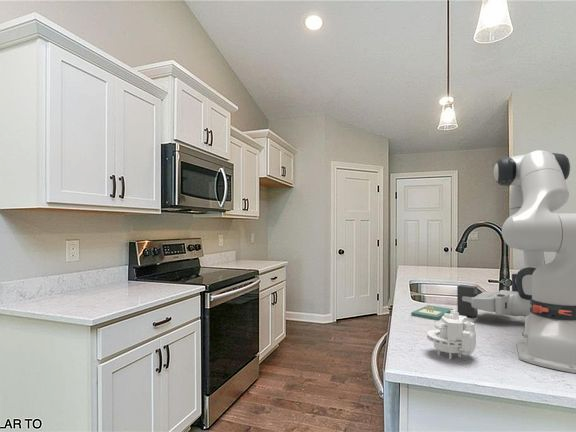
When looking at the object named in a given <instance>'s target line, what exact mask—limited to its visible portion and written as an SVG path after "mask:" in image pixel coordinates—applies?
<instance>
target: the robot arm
mask: <svg viewBox="0 0 576 432" xmlns="http://www.w3.org/2000/svg"><path fill="white" fill-rule="evenodd" d="M570 172H571V163H570V159H569V157H568V156H567V155H566V154H564V153H558V152H557V153H556V152H552V153H551V152H550V151H547V150H542V149H541V150H540V149H537V150H533V151H531V152H528V153H527V154H519V155H513V156H504V157H501V158H499V159H498V160H497V161H496V162H495V165H494V167H493V177H494V179H495V181H496V183H497V184H498V185H499V186H502V187H510V191H509V203H508V205H509V206H508V208H509V217H507V218H506V219H505V221H504V223H503V224H502V228H501V237H502V238H503V241H504V243H505V244H506V245H507V246H508V247H509V248H511V249H514V250H515V249H516V250H521V251H523V258H524V259H523V260H524V261H523V262H524V267H523V268H521V269H520V270H518V272H517V273H516V274H517V275H516V278H515V282H516V286H517V290H518V292H515V291H512V290H506V289H505V290H504V289H501V290H499V292H493V291H483V292H481V293H478V295H477V296H475V297H468V296H463V297H462V301H466V302H469V303H471V306H472V307H473V308H475V309H478V311H485V312H490V313H495V314H494V315H496V316H497V315H498V316H504V315H505V316H512V317H524V332H522V334H521V335H522V337H523V338H525V339H524V340H522V339H521V340H520V339H519V340H516V343H515V344H516V349H517V355H518V356H517V357H518V359H520V360H521V361H524V362H526V363H529V364H531V365H532V364H533V365H536V366H540V367H544V368H548V369H552V370H556V371H557V370H558V371H562V372H567V373H574V374H576V212H555V211H557V210H559V209H561V208H562V207H563V206H564V205H566V203H567V202H568V200H569V197H570V192H569V189H568V186H567V182H566V180H567V179H568V178H569V175H570ZM544 252H548V253H552V252H553V253H555V256H554V258H553V260H552V261H550V262H549V263H548V262H547V263H545V262H546V261H545V253H544Z"/></svg>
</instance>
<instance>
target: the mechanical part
mask: <svg viewBox="0 0 576 432" xmlns="http://www.w3.org/2000/svg"><path fill="white" fill-rule="evenodd" d="M440 320H441V321H442V322H440V321H439V322H435V324H434V328H435V329H432V330H428V331H427V332H426V334H427V336H426V339H427V340H428V341H430V342H431V343H433V346H434V349H436V350H437V356H440V355H441V353H442V352H444V353H449V354H448V359H449V360H452V354H458V358H460V359H462V354H466V355H468V356H469V355H472V354H473V353H474V351H475V349H476V347H477V333H476V324H475V323H474V322H471V321H468V316H466V315H460V314H459V313H457V309H456V310H455V309H454V310H450V314H449V313H445V314H444V316H442V317H441V319H440Z"/></svg>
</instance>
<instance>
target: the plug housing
mask: <svg viewBox="0 0 576 432" xmlns="http://www.w3.org/2000/svg"><path fill="white" fill-rule="evenodd" d="M456 287H457V288H456V291H457V294H456V295H457V296H456V298H457V300H456V302H457V305H456V307H457V309H456V311H457V313H459V315H461V316H466V317H473V318H474V317H476V316H478V313H479V312H478V311H479V309H475V308H473V307H472V306H471V303H469V302H466V301H462V297H463V296H468V297H475V296H477V295H478V294H479V293H478V286H477V285H468V284H459V285H456Z"/></svg>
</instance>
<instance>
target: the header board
mask: <svg viewBox="0 0 576 432" xmlns="http://www.w3.org/2000/svg"><path fill="white" fill-rule="evenodd" d="M450 310H453V308H449V307H443V306H438V305H430V304H428V305H426V306H423V307H420V308H418V309H416V310H414V311H412V312H411V313H410V315H411V316H412V317H417V318H422V319H427V320H428V319H429V320H434V321H440V320H441V317H442V316H444V314H445V313H449V314H450Z"/></svg>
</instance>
